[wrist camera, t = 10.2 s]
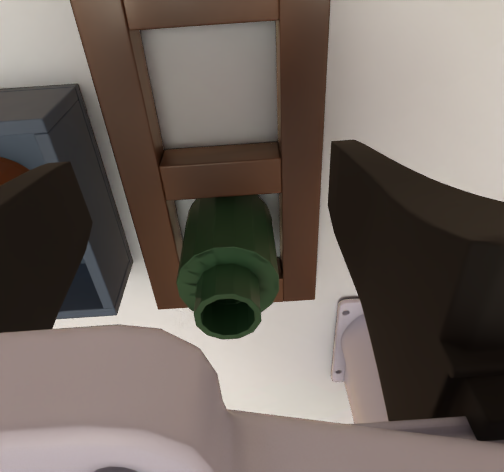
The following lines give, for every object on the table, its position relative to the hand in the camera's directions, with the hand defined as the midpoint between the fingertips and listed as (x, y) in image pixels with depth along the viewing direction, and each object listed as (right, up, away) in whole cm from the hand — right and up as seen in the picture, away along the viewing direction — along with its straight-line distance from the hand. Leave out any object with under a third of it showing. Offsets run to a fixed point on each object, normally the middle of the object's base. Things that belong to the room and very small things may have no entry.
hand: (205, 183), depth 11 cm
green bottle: (0, -1, +13) cm, 13 cm away
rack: (0, +3, +11) cm, 11 cm away
